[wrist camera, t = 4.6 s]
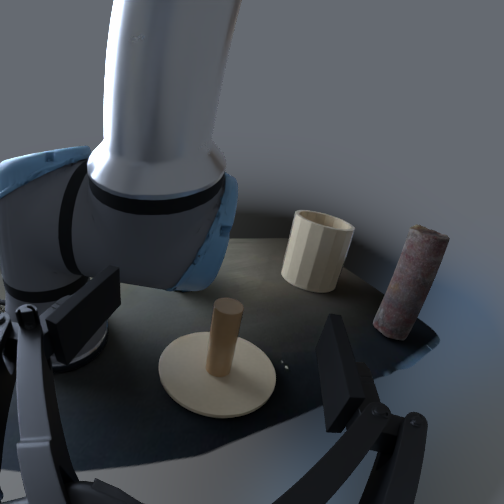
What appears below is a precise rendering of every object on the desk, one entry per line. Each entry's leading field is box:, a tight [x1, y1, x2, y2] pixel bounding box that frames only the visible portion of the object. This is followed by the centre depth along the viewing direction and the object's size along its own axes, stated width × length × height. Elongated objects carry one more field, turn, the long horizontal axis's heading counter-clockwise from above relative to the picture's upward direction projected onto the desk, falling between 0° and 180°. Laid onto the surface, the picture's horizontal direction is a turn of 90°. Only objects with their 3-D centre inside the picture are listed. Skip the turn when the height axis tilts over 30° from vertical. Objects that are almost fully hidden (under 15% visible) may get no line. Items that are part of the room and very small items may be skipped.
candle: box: [373, 225, 449, 340], centre depth 42 cm, size 8×7×20 cm
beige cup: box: [281, 210, 355, 293], centre depth 60 cm, size 13×13×14 cm
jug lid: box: [159, 298, 276, 418], centre depth 30 cm, size 14×14×10 cm
